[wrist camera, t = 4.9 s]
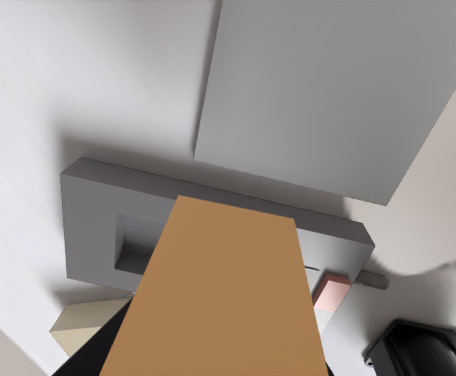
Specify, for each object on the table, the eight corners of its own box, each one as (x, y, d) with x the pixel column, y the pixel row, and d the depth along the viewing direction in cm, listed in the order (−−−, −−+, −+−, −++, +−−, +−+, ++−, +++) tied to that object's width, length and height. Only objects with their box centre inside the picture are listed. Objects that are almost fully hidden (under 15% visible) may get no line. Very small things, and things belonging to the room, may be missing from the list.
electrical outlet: (121, 334, 23) (188, 441, 31) (138, 293, 27) (194, 399, 35) (42, 342, 24) (126, 442, 32) (69, 301, 28) (139, 401, 36)
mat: (517, -31, 14) (527, -33, 13) (382, 201, 20) (386, 206, 19) (244, -109, 13) (243, -114, 12) (194, 156, 19) (193, 160, 19)
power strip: (415, 235, 21) (440, 266, 18) (360, 315, 25) (373, 350, 23) (81, 157, 20) (54, 178, 17) (83, 255, 24) (62, 284, 21)
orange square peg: (295, 218, 10) (384, 604, 3) (265, 298, 13) (282, 642, 6) (177, 193, 10) (18, 543, 3) (166, 279, 12) (54, 605, 5)
